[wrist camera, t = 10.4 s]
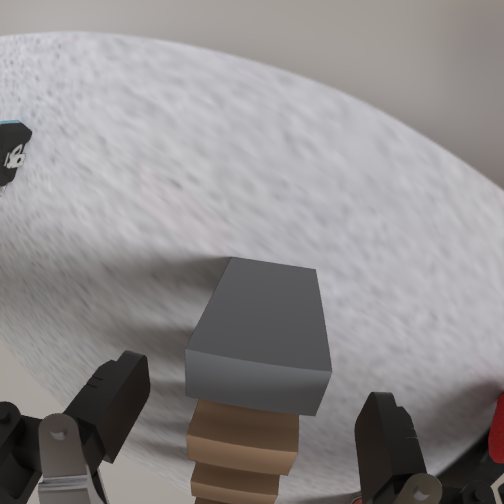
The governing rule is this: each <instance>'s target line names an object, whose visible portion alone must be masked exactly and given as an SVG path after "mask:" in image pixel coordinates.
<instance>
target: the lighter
mask: <svg viewBox="0 0 504 504" xmlns="http://www.w3.org/2000/svg"><path fill="white" fill-rule="evenodd" d="M350 504H362V496H361V492H358V493H356V494H354V495H353V496H352V498H351V500H350Z"/></svg>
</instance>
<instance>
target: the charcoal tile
mask: <svg viewBox="0 0 504 504" xmlns="http://www.w3.org/2000/svg"><path fill="white" fill-rule="evenodd" d="M331 374H332V366H331V359H330V352H329V345H328V338H327V332H326V326H325V320H324V313H323V307H322V302H321V296H320V290H319V285H318V279H317V274H316V269H309V268H302V267H296V266H289V265H282V264H276V263H269V262H263V261H256V260H250V259H243V258H237V257H232V258H231V260H230V262H229V263H228V265H227V267H226V269H225V271H224V273H223V275H222V277H221V279H220V281H219V283H218V285H217V287H216V289H215V291H214V293H213V295H212V297H211V299H210V301H209V303H208V304H207V306H206V308H205V310H204V312H203V314H202V316H201V318H200V320H199V322H198V324H197V326H196V328H195V330H194V332H193V334H192V336H191V338H190V340H189V342H188V344H187V346H186V348H185V378H186V396H190V397H194V398H199V399H203V400H208V401H213V402H218V403H223V404H228V405H234V406H239V407H245V408H252V409H258V410H265V411H272V412H280V413H288V414H298V415H308V416H315V415H316V413H317V411H318V408H319V406H320V403H321V401H322V398H323V395H324V393H325V390H326V388H327V385H328V382H329V380H330V377H331Z"/></svg>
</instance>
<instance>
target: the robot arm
mask: <svg viewBox="0 0 504 504" xmlns="http://www.w3.org/2000/svg"><path fill="white" fill-rule="evenodd" d="M149 393H150V378H149V370H148V362H147V357H146V356H145V355H141V354H138V353H134V352H131V351H125V352H124V353H123V354H122V355H121V356H120V358H119V359H118V360H117V361H114V360H110V361H108V362H106V363H105V364H103V365H101V366H100V367H99V368H98V369H97V370H96V372H95V373H94V374H93V375H92V378H90V379H89V380H88V382H87V384H86V385H84V387H83V388H82V389H81V391H80V392H79V393H78V394H77V396H76V397H75V398H74V399H73V401H72V402H71V403H70V405H69V406H68V407H67V409H66V410H65V411H64V412H63V413H55V414H51V415H49V416H47V417H45V418H44V419H38V418H33V417H29V416H24V415H21V413H20V411H19V409H18V408H17V407H16V406H15V405H14V404H12V403H10V402H6V401H5V402H0V467H1V468H0V504H26V503H27V501H28V499H29V497H30V496H31V494H32V492H33V490H34V488H35V486H36V485H37V483H38V481H39V479H40V478H41V476H42V474H43V482H42V483H39V484H38V495H39V501H40V504H110V503H109V500H108V497H107V494H106V491H105V488H104V484H103V481H102V478H101V474H100V470H99V465H100V463H101V462H102V460H104V461H106V462H109V463H112V464H113V462H114V460H115V458H116V456H117V455H118V453H119V451H120V449H121V447H122V445H123V443H124V442H125V440H126V438H127V436H128V434H129V432H130V431H131V429H132V427H133V425H134V423H135V421H136V420H137V418H138V416H139V414H140V412H141V410H142V409H143V407H144V405H145V403H146V401H147V399H148V397H149ZM416 438H417V436H416V432H415V430H414V426H413V423H412V419H411V416H410V415H409V414H408V413H407V411H406V410H405V409H404V408H403V407H397V406H396V402H395V399H394V396H393V394H392V393H385V392H371V393H370V394H369V396H368V398H367V400H366V402H365V404H364V406H363V408H362V410H361V412H360V414H359V416H358V418H357V420H356V424H355V441H356V449H357V457H358V466H359V475H360V485H361V496H362V504H496V501H495V497H494V493H493V490H492V488H491V487H490V486H489V485H488V484H487V483H486V482H484V481H480V480H476V481H472V482H470V483H469V484H468V485H466V486H465V487H464V488H454V487H445V486H441V483H440V482H439V480H438V479H437V478H435V477H434V476H432V475H430V474H428V473H427V471H426V467H425V463H424V460H423V456H422V453H421V449H420V446H419V442H418V439H416Z"/></svg>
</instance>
